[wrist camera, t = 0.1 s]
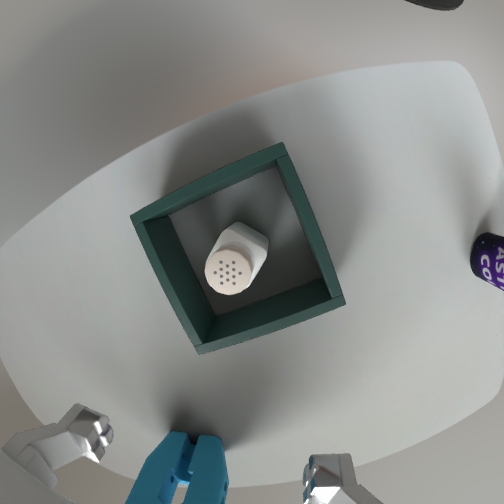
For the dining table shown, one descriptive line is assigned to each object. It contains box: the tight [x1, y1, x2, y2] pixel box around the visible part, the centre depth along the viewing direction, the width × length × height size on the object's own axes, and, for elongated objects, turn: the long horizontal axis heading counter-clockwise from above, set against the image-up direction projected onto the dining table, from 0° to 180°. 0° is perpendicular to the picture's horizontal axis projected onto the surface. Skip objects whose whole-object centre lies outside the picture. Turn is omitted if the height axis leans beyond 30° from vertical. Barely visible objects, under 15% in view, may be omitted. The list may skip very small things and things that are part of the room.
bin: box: [130, 142, 346, 355], centre depth 25 cm, size 14×14×6 cm
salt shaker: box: [205, 222, 269, 295], centre depth 23 cm, size 4×4×10 cm
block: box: [125, 431, 229, 504], centre depth 25 cm, size 12×5×20 cm, turn 94°
